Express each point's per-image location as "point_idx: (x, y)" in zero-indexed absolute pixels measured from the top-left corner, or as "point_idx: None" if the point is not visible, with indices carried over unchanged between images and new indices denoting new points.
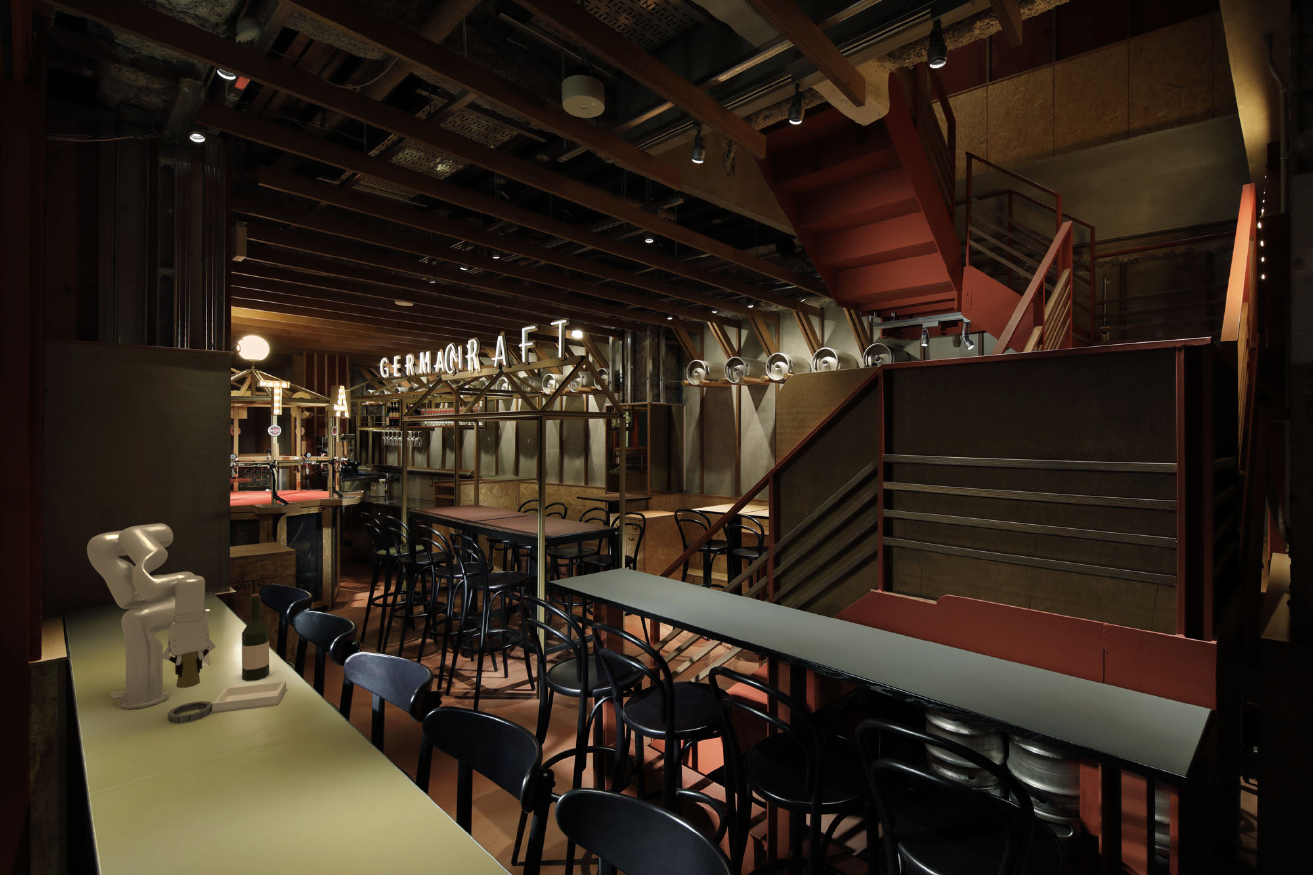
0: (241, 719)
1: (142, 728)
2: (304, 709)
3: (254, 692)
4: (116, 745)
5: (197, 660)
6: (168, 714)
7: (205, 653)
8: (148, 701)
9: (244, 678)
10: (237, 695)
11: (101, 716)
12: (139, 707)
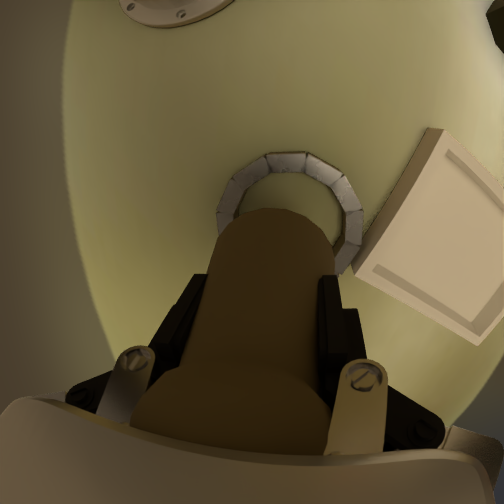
0: (377, 356)
1: (158, 222)
2: (465, 381)
3: (491, 197)
4: (119, 287)
5: (321, 397)
6: (217, 224)
7: (390, 444)
8: (182, 6)
9: (495, 29)
10: (455, 172)
11: (84, 43)
12: (159, 27)
